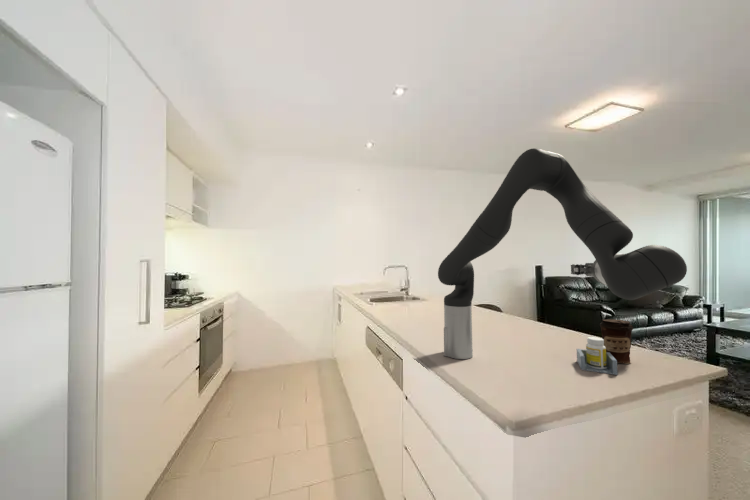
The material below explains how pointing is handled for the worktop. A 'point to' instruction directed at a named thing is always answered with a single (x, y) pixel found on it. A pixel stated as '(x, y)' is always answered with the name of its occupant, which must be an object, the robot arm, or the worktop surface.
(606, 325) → the coffee cup
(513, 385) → the worktop surface
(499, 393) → the worktop surface
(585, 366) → the grey-blue square open box
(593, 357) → the supplement bottle
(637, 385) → the worktop surface
